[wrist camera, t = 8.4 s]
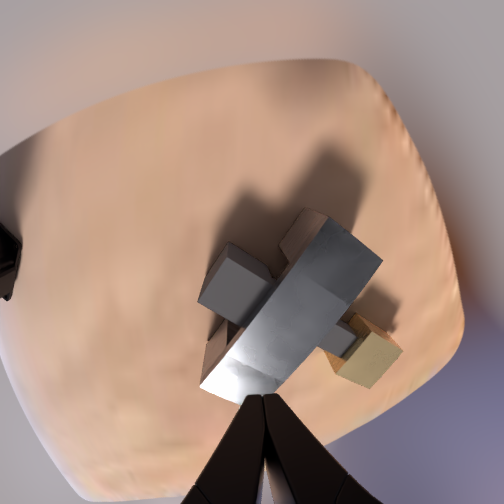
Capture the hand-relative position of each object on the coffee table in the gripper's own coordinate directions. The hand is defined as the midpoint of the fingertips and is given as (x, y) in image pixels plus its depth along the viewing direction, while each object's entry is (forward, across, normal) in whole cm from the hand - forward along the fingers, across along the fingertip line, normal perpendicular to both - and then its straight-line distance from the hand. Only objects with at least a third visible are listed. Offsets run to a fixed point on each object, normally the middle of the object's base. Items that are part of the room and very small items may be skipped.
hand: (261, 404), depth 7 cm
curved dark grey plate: (+12, -2, +2) cm, 12 cm away
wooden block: (+12, -8, +7) cm, 16 cm away
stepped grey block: (+12, -2, +2) cm, 13 cm away
